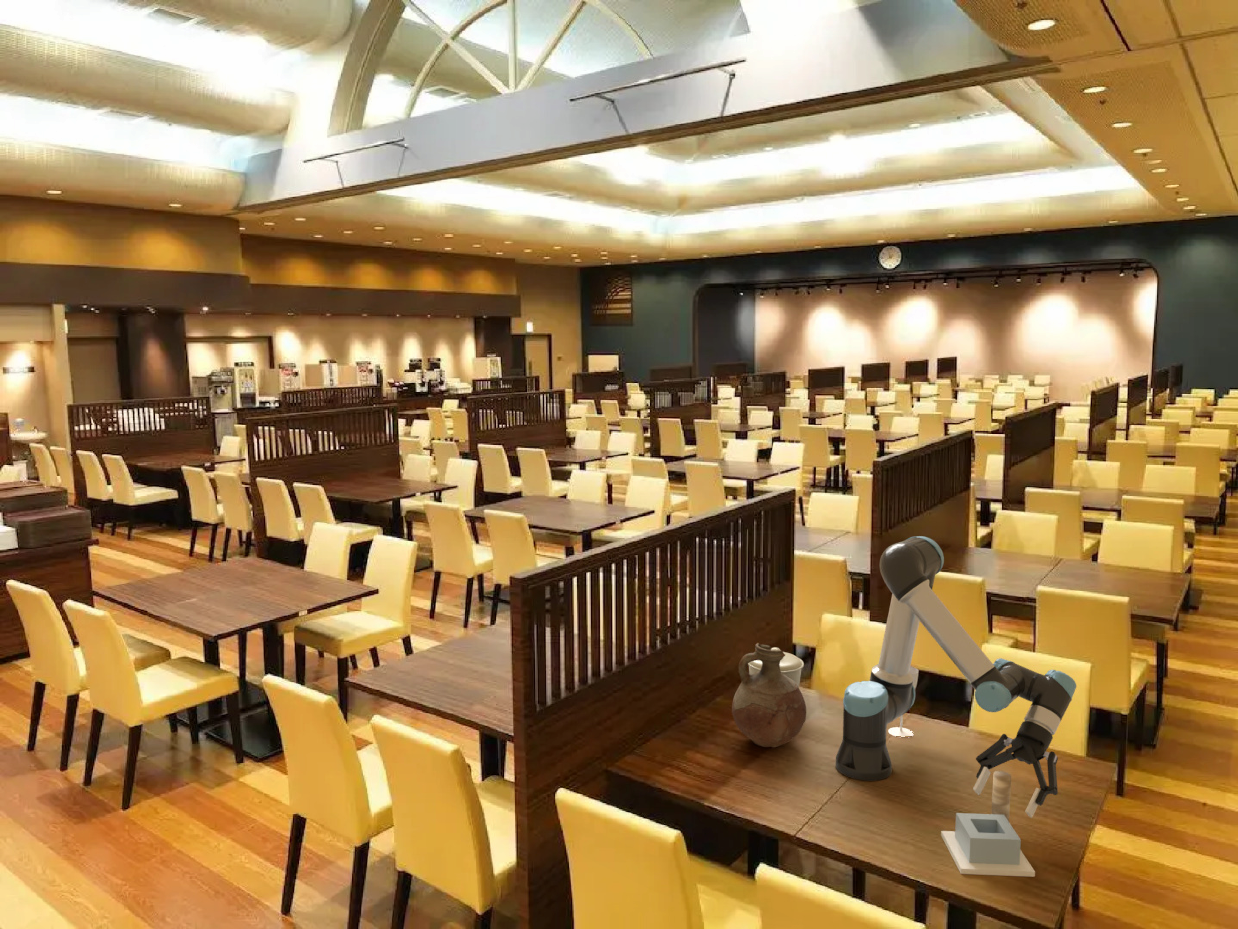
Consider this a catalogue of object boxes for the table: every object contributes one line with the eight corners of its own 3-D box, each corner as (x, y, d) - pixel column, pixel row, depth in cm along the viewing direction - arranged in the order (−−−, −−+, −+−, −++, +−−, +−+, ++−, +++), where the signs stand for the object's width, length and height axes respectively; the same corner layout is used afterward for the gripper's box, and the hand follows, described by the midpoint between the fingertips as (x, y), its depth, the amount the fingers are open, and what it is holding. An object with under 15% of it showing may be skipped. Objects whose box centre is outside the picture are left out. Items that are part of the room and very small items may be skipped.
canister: (813, 710, 293) (815, 647, 290) (782, 727, 280) (783, 661, 277) (766, 695, 305) (767, 635, 302) (734, 711, 292) (735, 648, 289)
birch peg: (993, 833, 219) (996, 778, 217) (988, 824, 223) (991, 770, 221) (1010, 833, 218) (1013, 779, 217) (1005, 825, 222) (1008, 771, 221)
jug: (818, 753, 262) (821, 653, 258) (750, 763, 256) (752, 661, 252) (784, 723, 282) (786, 630, 278) (720, 732, 276) (721, 637, 272)
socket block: (960, 874, 202) (962, 843, 201) (941, 835, 218) (942, 807, 217) (1034, 876, 201) (1036, 846, 200) (1009, 838, 217) (1011, 809, 216)
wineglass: (891, 724, 282) (893, 662, 279) (919, 731, 276) (922, 668, 274) (882, 733, 275) (884, 670, 273) (910, 740, 270) (913, 676, 267)
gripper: (1093, 753, 218) (1057, 832, 211) (997, 719, 238) (961, 790, 231) (1083, 738, 214) (1046, 817, 207) (986, 705, 234) (950, 776, 227)
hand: (1001, 803), depth 219 cm, fingers open, 13 cm apart
